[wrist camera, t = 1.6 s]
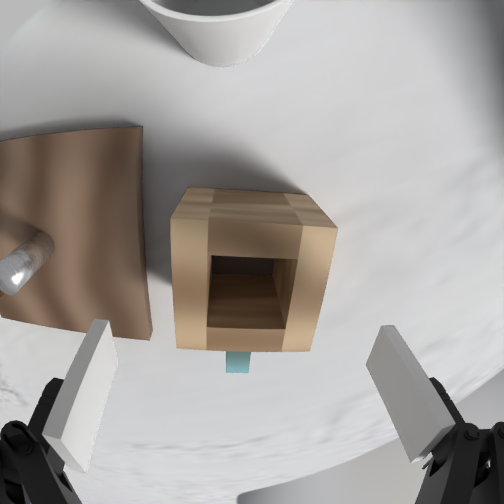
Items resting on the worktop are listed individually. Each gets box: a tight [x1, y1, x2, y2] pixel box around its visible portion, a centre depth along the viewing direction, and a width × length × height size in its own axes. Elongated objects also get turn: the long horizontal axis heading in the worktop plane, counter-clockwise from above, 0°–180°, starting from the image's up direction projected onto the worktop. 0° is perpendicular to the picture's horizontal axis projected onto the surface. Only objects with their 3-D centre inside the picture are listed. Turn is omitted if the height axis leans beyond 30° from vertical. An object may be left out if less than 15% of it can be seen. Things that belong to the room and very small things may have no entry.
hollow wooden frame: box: [170, 187, 338, 373], centre depth 23 cm, size 16×9×7 cm, turn 175°
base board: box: [0, 127, 153, 341], centre depth 22 cm, size 18×18×2 cm
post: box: [0, 231, 55, 295], centre depth 19 cm, size 2×2×6 cm
